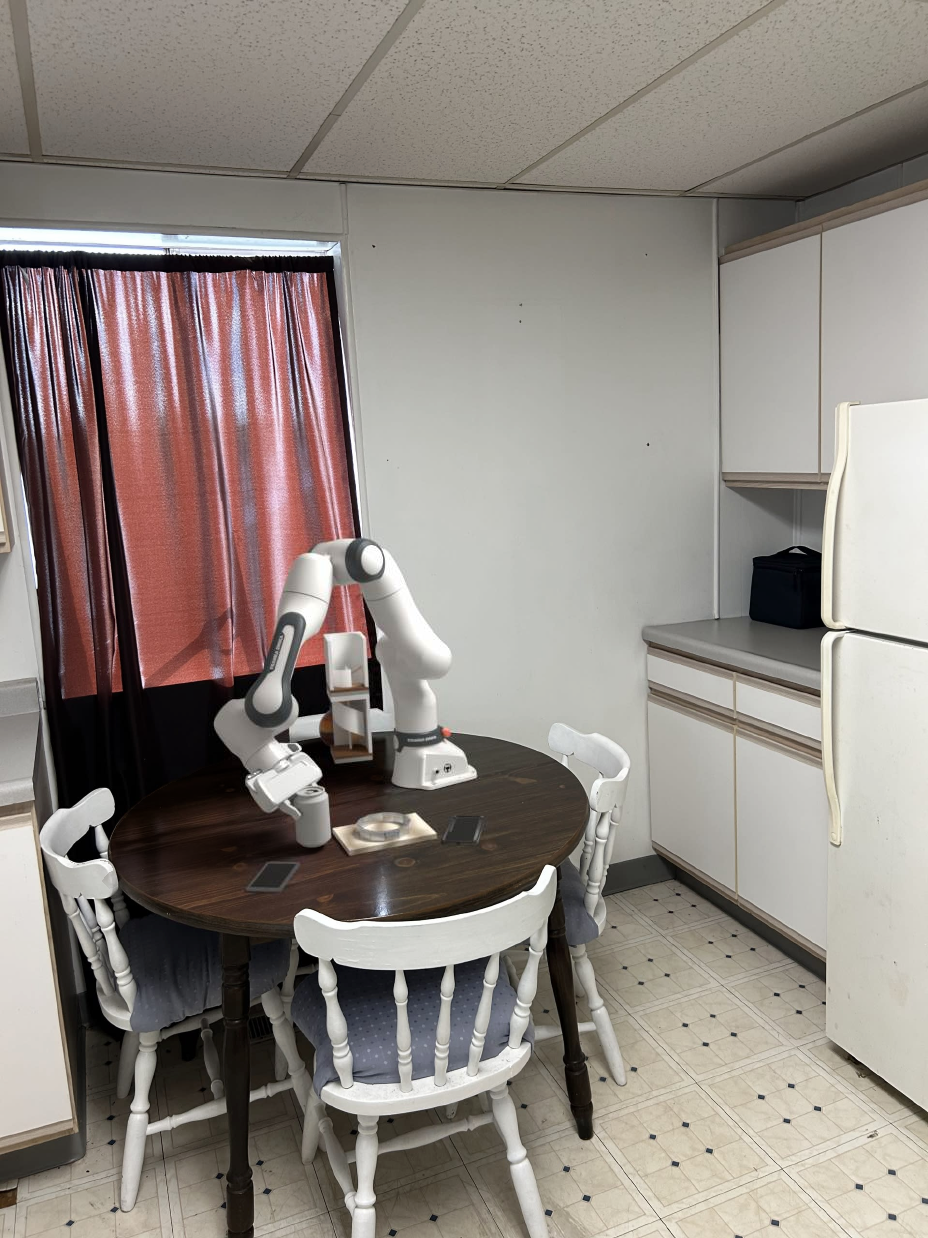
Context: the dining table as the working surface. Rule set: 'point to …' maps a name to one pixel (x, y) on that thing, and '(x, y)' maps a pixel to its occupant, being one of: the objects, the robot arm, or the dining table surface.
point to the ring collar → (383, 835)
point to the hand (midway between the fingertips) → (310, 810)
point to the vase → (327, 727)
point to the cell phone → (273, 877)
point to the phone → (464, 830)
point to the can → (312, 816)
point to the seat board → (359, 846)
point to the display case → (348, 696)
